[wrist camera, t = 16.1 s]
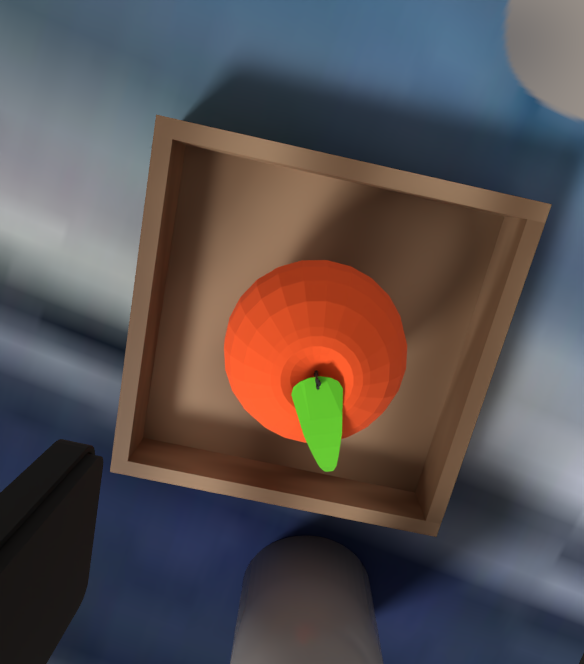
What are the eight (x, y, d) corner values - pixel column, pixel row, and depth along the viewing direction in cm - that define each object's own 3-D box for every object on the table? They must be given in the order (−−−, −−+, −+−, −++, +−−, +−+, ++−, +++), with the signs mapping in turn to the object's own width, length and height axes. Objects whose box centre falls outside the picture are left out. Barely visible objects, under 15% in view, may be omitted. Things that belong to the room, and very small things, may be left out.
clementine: (398, 409, 23) (438, 499, 16) (253, 427, 24) (233, 522, 17) (382, 238, 21) (420, 259, 14) (223, 261, 21) (185, 292, 15)
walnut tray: (518, 203, 21) (551, 204, 18) (421, 497, 25) (436, 536, 22) (176, 126, 21) (156, 114, 18) (132, 439, 25) (110, 471, 22)
